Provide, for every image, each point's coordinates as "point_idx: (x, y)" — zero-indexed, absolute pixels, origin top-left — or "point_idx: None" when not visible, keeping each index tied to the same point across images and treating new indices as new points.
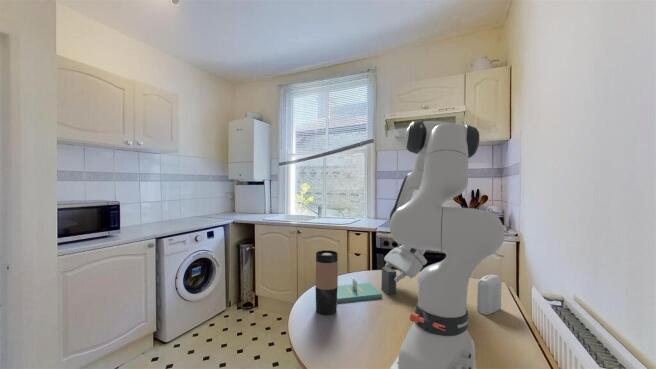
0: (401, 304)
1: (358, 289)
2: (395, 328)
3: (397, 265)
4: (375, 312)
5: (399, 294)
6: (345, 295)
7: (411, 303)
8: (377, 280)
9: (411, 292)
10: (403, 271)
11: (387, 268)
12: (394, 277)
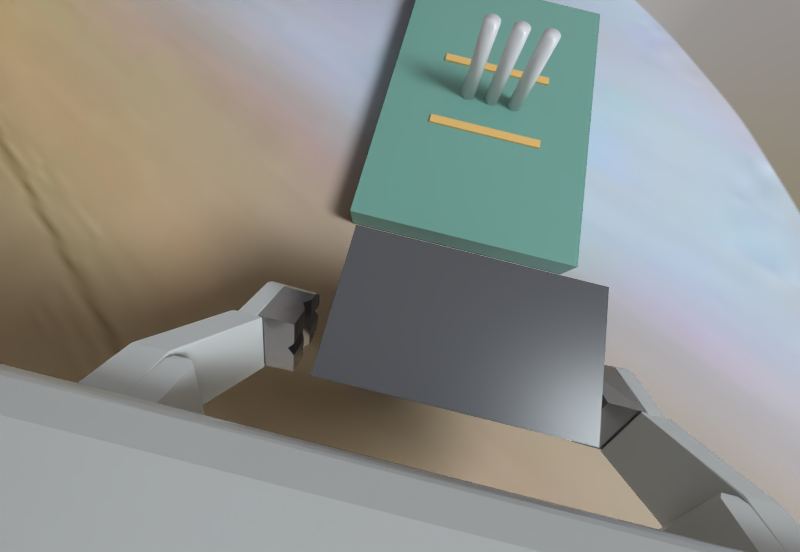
0: (203, 264)
1: (492, 125)
2: (44, 52)
3: (312, 487)
4: (227, 76)
5: None
6: (443, 19)
7: None
8: None
9: None
10: (19, 371)
11: (528, 346)
12: (294, 299)
